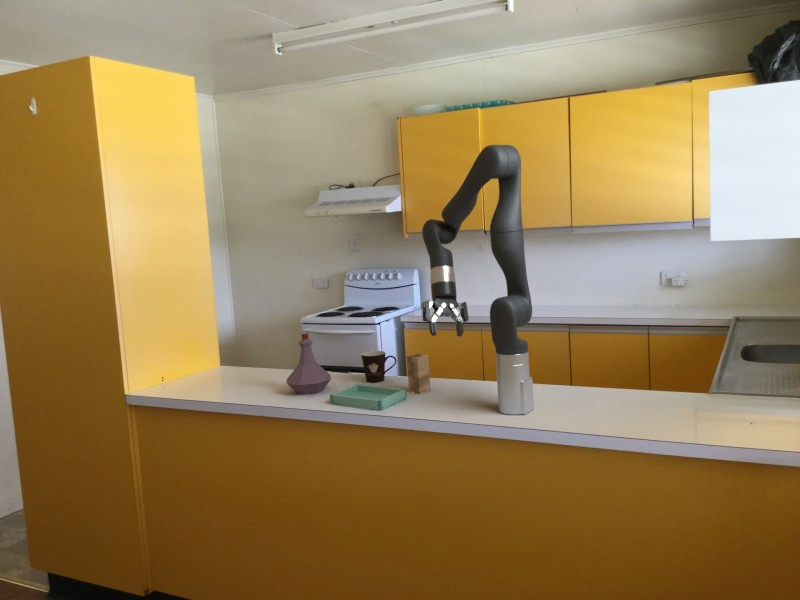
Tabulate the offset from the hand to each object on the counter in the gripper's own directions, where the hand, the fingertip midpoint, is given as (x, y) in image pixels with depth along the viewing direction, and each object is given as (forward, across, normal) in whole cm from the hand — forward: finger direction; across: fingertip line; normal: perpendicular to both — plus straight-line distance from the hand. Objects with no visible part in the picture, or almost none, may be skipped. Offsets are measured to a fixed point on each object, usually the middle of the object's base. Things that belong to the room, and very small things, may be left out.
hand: (447, 335), depth 201 cm
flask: (+10, -28, +52) cm, 60 cm away
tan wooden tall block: (+14, +3, +27) cm, 30 cm away
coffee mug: (+7, -3, +48) cm, 49 cm away
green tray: (+16, -16, +27) cm, 35 cm away
